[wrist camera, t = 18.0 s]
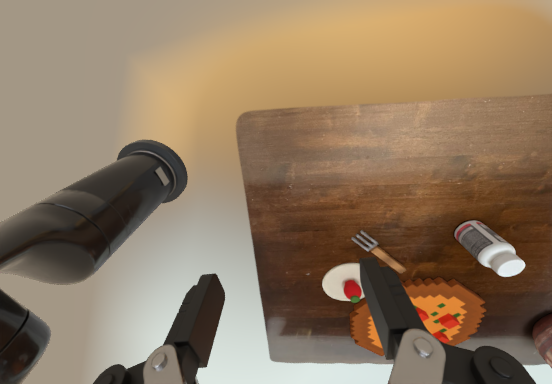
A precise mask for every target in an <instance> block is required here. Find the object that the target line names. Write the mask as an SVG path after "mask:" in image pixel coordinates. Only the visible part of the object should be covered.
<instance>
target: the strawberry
mask: <svg viewBox="0 0 552 384" xmlns="http://www.w3.org/2000/svg"><path fill="white" fill-rule="evenodd" d="M344 294H345V296H346V297H347V298H348V299H350V300H351V302H353V303H357V302H359V301H360V297H361V295H362V290H361V287H360V286H359V285H358V284H357V283H356V282H355V281H354V280H348V281H346V282H345V286H344Z"/></svg>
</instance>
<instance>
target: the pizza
mask: <svg viewBox="0 0 552 384" xmlns="http://www.w3.org/2000/svg"><path fill="white" fill-rule="evenodd" d="M400 281H401V280H400ZM401 283H402V286H403V287H404V288H405V290H406V293H407V294H408V296H409V298H410V299H411V301H412V303H413V305H414V307H415V309H416V311H417V312H418V314H419V316H420V318H421V320H422V322H423V323H424V325H425V327H426V328H427V330H428V331H429V332H430V333H431V334H432V335H433V336H434V337H436V338H437V339H439V340H440V341H442V342H444V343H446V344H448V345H451V346H454V345H457V344H459V343H461V342H463V341H465V340H468V339H470V336H469V335H470V334H473V333H475V332H477V331H478V330H477V329H476V328H477V327H479V326H480V325H479V324H478V323H480V322H482V320H481V319H480V318H482V317H484V315H483V314H482V313H483V312H485V311H487V310H486V309H485V308H484V307H483V305H482V304H484V303H485V301H484V300H483V299H482V298H481V297H480V296H479V295H477V294H476V293H474V292H473V291H471V290H470V289H468V288H467V287H465V286H464V285H462V284H461V283H459V282H458V281H456V280H455V279H451V280H450V281H448V282H446V281H445V280H443V279H442V278H440V277H437V278H436V279H434V280H432V279H431V278H427V279H425V280H424V281H423V280H421V279H420V278H418V279H417V280H415V281H414V282H413V281H412V280H410V279H408V280H407V281H405V282H402V281H401ZM353 307H354V311H352V312H351V313H349V315H350V318H349V319H350V330H351V332H350V334H351V338H353V339H354V340H355V344H357V345H359V346H361V347H363V348H366V349H368V350H370V351H372V352H374V353H376V354H378V355H380V356H383V355H385V354H384V351H383V348H382V345H381V342H380V339H379V336H378V333H377V331H376V328H375V325H374V322H373V319H372V316H371V313H370V310H369V307H368V305H367V302H366V299H365V298H364V299H362V300H361V301H359V302H358V303H357V304H355V305H354V306H353Z"/></svg>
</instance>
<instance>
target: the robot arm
mask: <svg viewBox="0 0 552 384" xmlns="http://www.w3.org/2000/svg"><path fill="white" fill-rule="evenodd" d="M176 185H177V176H176V172H175V170H174V168H173V167H172V165H171V164H170V163H169V161H168V160H166V159H165V158H164V157H163V156H161V155H160V154H158V153H156V152H153V151H150V150H136V151H133V152H131V153H130V154H128V155H127V156H125V157H123V158H121V159H119V160H117V161H116V162H114V163H112V164H110V165H108V166H106V167H104V168H102V169H100V170H98V171H96V172H94V173H93V174H91V175H89V176H87V177H85V178H83V179H81V180H79V181H77V182H75V183H73V184H72V185H70V186H68V187H66V188H64V189H62V190H60V191H58V192H56V193H55V194H53V195H51V196H49V197H47V198H45V199H43V200H41V201H40V202H38V203H35V204H34V205H32V206H30V207H28V208H26V209H24V210H22V211H20V212H19V213H17V214H15V215H13V216H11V217H9V218H8V219H6V220H4V221H2V222H0V273H5V274H13V275H19V276H22V277H26V278H29V279H33V280H37V281H40V282H44V283H49V284H57V285H70V284H76V283H79V282H82V281H84V280H86V279H87V278H89V277H90V276H92V275H93V274H94V273H95V272H96V271H97V270H98V269H99V268H100V267H101V266H102V265H103V264H104V263H105V262H106V260H107V259H108V258H109V257H110V256H111V255H112V254H113V253H114V252H115V251H116V250H117V249H118V248H119V247H120V246H121V245H122V244H123V243H124V242H125V240H126V239H127V238H128V237H129V236H130V235H131V234H132V233H133V232H134V231H135V230H136V229H137V228H138V227H139V226H140V225H141V224H142V223H143V221H145V220H146V219H147V218H148V216H149V215H150V214H151V213H152V212H153V211H154V210H155V209H156V208H157V207H158V206H159V205H160V204H161V203H162V202H163V201H164V200H165V199H166V198H167V197H168V196H169V195H170V194H171V193H172V192H173V191H174V190H175V188H176ZM360 282H361V287H362V290H363V293H364V296H365V299H366V302H367V305H368V307H369V310H370V313H371V316H372V319H373V322H374V325H375V328H376V331H377V333H378V336H379V339H380V342H381V345H382V348H383V351H384V354H385V357H386V359H387V360H391V359H394V365H393V369H392V372H391V375H390V378H389V381H388V384H536V383H535V381H534V380H533V379H532V377H531V376H530V375H529V373H528V372H527V371H526V369H525V368H524V367H523V366H522V365H521V364H520V363H519V362H518V361H517V360H516V359H515V358H514V357H512V356H511V355H510V354H508V353H506V352H505V351H502V350H500V349H498V348H495V347H491V346H482V347H479V348H477V349H476V350H475V352H474V351H470V350H467V349H463V348H459V347H455V346H451V345H448V344H446V343H444V342H442V341H440V340H439V339H437V338H436V337H434V336H433V335H432V334H431V333H430V332H429V331H428V330H427V328H426V327H425V325H424V323H423V322H422V320H421V318H420V316H419V314H418V312H417V311H416V309H415V307H414V305H413V303H412V301H411V299H410V298H409V296H408V294H407V293H406V290H405V288H404V287H403V286H402V283H401V281H400V279H399V277H398V276H397V274H396V273H395V272H394V271H393V270H391V269H390V268H389V267H388V266H387V267H380V266H379V264H378V262H377V260H376V258H375V257H368V258H360ZM224 301H225V292H224V289H223V287H222V285H221V283H220V281H219V279H218V277H217V275H216V274H207V275H202V276H201V277H200V279H199V282H198V284H197V285H194V286H193V287H192V288H191V289H190V290H189V291H188V293H187V294H186V296H185V298H184V300H183V302H182V305H181V307H180V309H179V313H177V316H176V318H175V320H174V322H173V325H172V327H171V329H170V331H169V333H168V336H167V338H166V340H165V342H164V344H163V346H161V347H159V348H157V349H156V350H155V351H154V352H153V353H152V354H151V355H150V356H149V357H148V359H147V360H146V361H144V362H142V363H140V364H137V365H135V366H133V367H131V368H128V369H126V368H125V367H124V366H122V365H120V364H117V365H113V366H111V367H109V368H108V369H106V370H105V371H104V372H103V373H101V374H100V375H99V377H98V378H97V379H96V380H95V382H94V383H93V384H199V383H198V380H197V377H196V374H197V370H198V368H203V367H207V364H208V360H209V356H210V353H211V349H212V346H213V342H214V338H215V335H216V331H217V327H218V324H219V320H220V316H221V312H222V309H223V305H224ZM50 336H51V330H50V328H49V326H48V325H47V324H46V323H45V322H44V321H43V320H42V319H40V318H39V317H38V316H36V315H35V314H34V313H33V312H31V311H30V310H29V309H27V308H26V307H25V306H23V305H22V304H21V303H19V302H18V301H17V300H15V299H14V298H12V297H11V296H10V295H8V294H7V293H5V292H4V291H3V290H1V289H0V384H22V382H23V381H24V380H25V379H26V377H27V376H28V375H29V374H30V372H31V371H32V370H33V368H34V367H35V366H36V365H37V363H38V361H39V360H40V358H41V357H42V355H43V354H44V352H45V350H46V348H47V346H48V344H49V341H50Z"/></svg>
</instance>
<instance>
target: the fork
mask: <svg viewBox="0 0 552 384" xmlns="http://www.w3.org/2000/svg"><path fill="white" fill-rule="evenodd" d="M360 232H361V233H362V234H363V235H364V236H366V237H367V238H368V239H369V240H371V241H372V242H373V243H372V244H371V243H369V242H368V241H367V240H366V239H364V238H363V237H362V236H360V235H359V234H358V233H357V234H356V237H358V238H359V239H360V240H362V241H363V242H364V243H366V244H367V245H368V247H366V246H365V245H363V244H362V243H361V242H359V241H358V240H357V239H355V238H354V237H352V238H351V239H352V240H353V241H354V242H356V243H357V244H358V245H360V246H361V247H362V248H364V249H365V250H366V251H369V250H371V252H372V253H373V254H375V255H376V256H378V257H379V258H380V259H382V260H383V261H384V262H386V263H387V264H388V265H390V266H391V267H392V268H394V269H395V270H396V271H398V272H399V273H400V274H401V273H403V272H404V271H406V268H405V266H404V265H402V264H401V263H400V262H398V261H397V260H396V259H394V258H393V257H392V256H391V255H389V254H388V253H387V252H385V251H384V250H383V249H381V248H380V247H379V246H377V245H378V242H377V241H376V240H374V239H373V238H372V237H370V236H369V235H368V234H367V233H365V232H364V231H363V230H361V231H360Z"/></svg>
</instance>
